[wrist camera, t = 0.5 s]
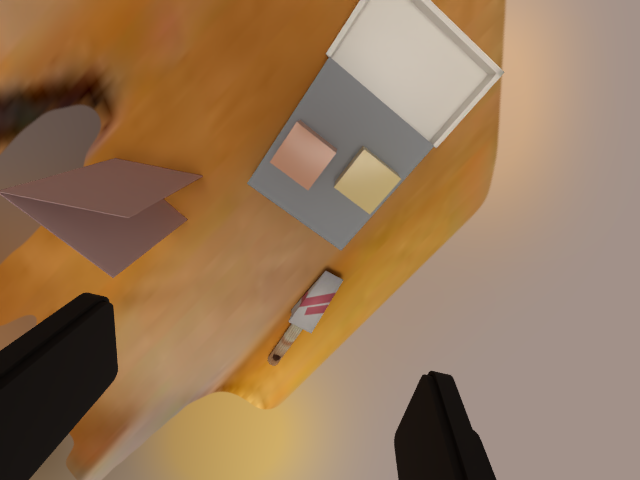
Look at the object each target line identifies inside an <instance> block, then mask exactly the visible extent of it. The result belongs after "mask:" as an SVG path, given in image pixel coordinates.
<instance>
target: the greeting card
mask: <svg viewBox="0 0 640 480" xmlns="http://www.w3.org/2000/svg"><path fill="white" fill-rule="evenodd" d="M201 177H203V176H201V175H196V174H191V173H186V172H181V171H176V170H171V169H166V168H161V167H156V166H151V165H146V164H141V163H136V162H131V161H126V160H121V159H117V158H114V159H111V160H107V161H104V162H100V163H96V164H93V165H89V166H86V167H82V168H79V169H75V170H71V171H68V172H64V173H61V174H57V175H54V176H50V177H46V178H42V179H39V180H35V181H32V182H28V183H25V184H21V185H17V186H14V187H10V188H6V189H3V190H0V195H2V196H3V197H4V198H6V199H7V200H8V201H10V202H11V203H12V204H14V205H15V206H17V207H18V208H19V209H21V210H22V211H23V212H25V213H26V214H27V215H29V216H30V217H31V218H33V219H34V220H36V221H37V222H38V223H40V224H41V225H42V226H44V227H45V228H46V229H48V230H49V231H50V232H52V233H53V234H54V235H56V236H57V237H58V238H60V239H61V240H63V241H64V242H65V243H67V244H68V245H69V246H71V247H72V248H73V249H75V250H76V251H77V252H79V253H80V254H81V255H83V256H84V257H85V258H87V259H88V260H90V261H91V262H92V263H94V264H95V265H96V266H98V267H99V268H100V269H102V270H103V271H104V272H106V273H107V274H108V275H110V276H111V277H113V278H114V277H115V276H116V275H118V274H119V273H120V272H121V271H123V270H124V269H125V268H127V267H128V266H129V265H130V264H132V263H133V262H134V261H135V260H137V259H138V258H139V257H141V256H142V255H143V254H144V253H146V252H147V251H148V250H149V249H151V248H152V247H153V246H155V245H156V244H157V243H158V242H160V241H161V240H162V239H164V238H165V237H166V236H167V235H169V234H170V233H171V232H172V231H174V230H175V229H176V228H178V227H179V226H180V225H181V224H183V223H184V222H185V221H187V219H186V218H185V217H184V216H183V215H182V214H180V213H179V212H178V211H177V210H176V209H174V208H173V207H172V206H171V205H170V204H169V203H167V202H166V201H165V200H164V198H166V197H167V196H169V195H171V194H173V193H174V192H176V191H178V190H180V189H181V188H183V187H185V186H187V185H188V184H190V183H192V182H194V181H196V180H197V179H199V178H201Z"/></svg>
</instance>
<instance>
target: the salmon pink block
mask: <svg viewBox="0 0 640 480" xmlns="http://www.w3.org/2000/svg"><path fill="white" fill-rule="evenodd" d="M336 153H337V149H336V148H335V147H334V146H333V145H331V144H330V143H329V142H327V141H326V140H325V139H324V138H322V137H321V136H320V135H319V134H317V133H316V132H315V131H314V130H312V129H311V128H310V127H308V126H307V125H306V124H305V123H303V122H302V121H301V120H299V121H297V122H296V123H295V125H294V126H293V128H292V129H291V131H290V132H289V134H288V135H287V137H286V138H285V140H284V141H283V143H282V144H281V146H280V147H279V149H278V150H277V152H276V153H275V155H274V157H273V158H272V160H271V161H270V163H271V164H273V165H274V166H275V167H277V168H278V169H280V170H281V171H282V172H284V173H285V174H286V175H288V176H289V177H290V178H292V179H293V180H294V181H296V182H297V183H298V184H300V185H301V186H303V187H304V188H305V189H307V190H309V189H310V187H311V186H312V185H313V183H314V182H315V181H316V179H317V178H318V177H319V175H320V174H321V173H322V171H323V170H324V169H325V168H326V166H327V165H328V164H329V162H330V161H331V160H332V158H333V157H334V156H335V154H336Z"/></svg>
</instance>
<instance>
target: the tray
mask: <svg viewBox="0 0 640 480" xmlns="http://www.w3.org/2000/svg"><path fill="white" fill-rule="evenodd" d="M326 55H327V57H331V58H332V59H333V60H334V61H335V62H336V63H338V64H339V65H340V66H341V67H342V68H343V69H345V70H346V71H347V72H348V73H349V74H350V75H352V76H353V77H354V78H355V79H356V80H357V81H359V82H360V83H361V84H362V85H363V86H365V87H366V88H367V89H368V90H369V91H370V92H372V93H373V94H374V95H375V96H376V97H377V98H379V99H380V100H381V101H382V102H383V103H384V104H386V105H387V106H388V107H389V108H390V109H391V110H393V111H394V112H395V113H396V114H397V115H399V116H400V117H401V118H402V119H403V120H404V121H406V122H407V123H408V124H409V125H410V126H411V127H413V128H414V129H415V130H416V131H417V132H418V133H420V134H421V135H422V136H423V137H424V138H425V139H427V140H428V141H429V142H430V143H431V144H432V145H434V147H435V148H437V147H438V146H439V145H440V144H441V143H442V141H443V140H444V139H445V138H446V137H447V136H448V135H449V134H450V133H451V131H452V130H453V129H454V128H455V127H456V126H457V125H458V124H459V122H460V121H461V120H462V119H463V118H464V117H465V116H466V115H467V114H468V112H469V111H470V110H471V109H472V108H473V107H474V106H475V105H476V103H477V102H478V101H479V100H480V99H481V98H482V97H483V96H484V95H485V93H486V92H487V91H488V90H489V89H490V88H491V87H492V86H493V85H494V83H495V82H496V81H497V80H498V79H499V78H500V77H501V76H502V74H503V73H504V71H503V70H502V69H501V68H500V67H499V66H498V65H497V64H495V63H494V62H493V61H492V60H491V59H490V58H489V57H488V56H487V55H486V54H485V53H484V52H483V51H482V50H481V49H480V48H479V47H478V46H477V45H476V44H475V43H474V42H473V41H472V40H471V39H470V38H469V37H468V36H467V35H466V34H465V33H464V32H463V31H461V30H460V29H459V28H458V27H457V26H456V25H455V24H454V23H453V22H452V21H451V20H450V19H449V18H448V17H447V16H446V15H445V14H444V13H443V12H442V11H441V10H440V9H439V8H438V7H437V6H436V5H435V4H434V3H433V2H432V1H431V0H360V1H359V3H358V4H357V6H356V8H355V9H354V11H353V12H352V14H351V15H350V17H349V18H348V20H347V22H346V23H345V25H344V26H343V28H342V29H341V31H340V32H339V34H338V36H337V37H336V39H335V40H334V42H333V43H332V45H331V46H330V48H329V50H328V51H327V53H326Z"/></svg>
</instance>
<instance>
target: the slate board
mask: <svg viewBox="0 0 640 480" xmlns="http://www.w3.org/2000/svg"><path fill="white" fill-rule="evenodd" d="M299 120H301V121H302V122H303V123H305V124H306V125H307V126H308V127H310V128H311V129H312V130H314V131H315V132H316V133H317V134H319V135H320V136H321V137H322V138H324V139H325V140H326V141H327V142H329V143H330V144H331V145H333V146H334V147H335V148H336V149H337V153H336V154H335V156H334V157H333V158H332V160H331V161H330V162H329V164H328V165H327V166H326V168H325V169H324V170H323V171H322V173H321V174H320V175H319V177H318V178H317V179H316V181H315V182H314V183H313V185H312V186H311V187H310V189H309V190H307V189H305V188H304V187H303V186H301V185H300V184H298V183H297V182H296V181H294V180H293V179H292V178H290V177H289V176H288V175H286V174H285V173H284V172H282V171H281V170H280V169H278V168H277V167H275V166H274V165H273V164H271V163H270V161H271V160H272V158H273V157H274V155H275V153H276V152H277V150H278V149H279V147H280V146H281V144H282V143H283V141H284V140H285V138H286V137H287V135H288V134H289V132H290V131H291V129H292V128H293V126H294V125H295V123H296V122H297V121H299ZM362 146H364V147H366V148H367V149H368V150H369V151H371V152H372V153H373V154H374V155H376V156H377V157H378V158H379V159H380V160H382V161H383V162H384V163H385V164H387V165H388V166H389V167H390V168H392V169H393V170H394V171H395V172H397V173H398V174H399V176H400V178H401V180H400V181H399V182H398V184H397V185H396V186H395V187H394V188H393V189H392V190H391V191H390V193H389V194H388V195H387V196H386V197H385V198H384V199H383V201H382V202H381V203H380V204H379V205H378V206H377V207H376V208H375V210H374V211H373V212H372V213H371V214H368V213H367V212H366V211H364V210H363V209H362V208H361V207H359V206H358V205H357V204H355V203H354V202H353V201H351V200H350V199H349V198H347V197H346V196H345V195H343V194H342V193H341V192H339V191H338V190H337V189H335V188H334V184H335V181H336V180H337V178H338V177H339V176H340V174H341V173H342V172H343V171H344V169H345V168H346V167H347V166H348V164H349V163H350V162H351V160H352V159H353V158H354V157H355V155H356V154H357V153H358V151H359V150H360V149H361V148H362ZM433 147H434V145H432V144H431V143H430V142H429V141H428V140H427V139H425V138H424V137H423V136H422V135H421V134H420V133H418V132H417V131H416V130H415V129H414V128H413V127H411V126H410V125H409V124H408V123H407V122H406V121H404V120H403V119H402V118H401V117H400V116H399V115H397V114H396V113H395V112H394V111H393V110H391V109H390V108H389V107H388V106H387V105H386V104H384V103H383V102H382V101H381V100H380V99H379V98H377V97H376V96H375V95H374V94H373V93H372V92H370V91H369V90H368V89H367V88H366V87H365V86H363V85H362V84H361V83H360V82H359V81H357V80H356V79H355V78H354V77H353V76H352V75H350V74H349V73H348V72H347V71H346V70H345V69H343V68H342V67H341V66H340V65H339V64H338V63H336V62H335V61H334V60H333V59H332V58H331V57H329V58H328V60H327V61H326V63H325V64H324V66H323V67H322V69H321V71H320V72H319V74H318V75H317V77H316V78H315V80H314V81H313V83H312V84H311V86H310V87H309V89H308V91H307V92H306V94H305V95H304V97H303V98H302V100H301V101H300V103H299V104H298V106H297V107H296V109H295V111H294V112H293V114H292V115H291V117H290V118H289V120H288V121H287V123H286V124H285V126H284V127H283V129H282V131H281V132H280V134H279V135H278V137H277V138H276V140H275V141H274V143H273V144H272V146H271V147H270V149H269V151H268V152H267V154H266V155H265V157H264V158H263V160H262V161H261V163H260V164H259V166H258V167H257V169H256V171H255V172H254V174H253V175H252V177H251V178H250V180H249V181H248V183H247V184H248V185H250V186H251V187H252V188H254V189H255V190H257V191H258V192H260V193H261V194H262V195H264V196H265V197H267V198H268V199H269V200H271V201H272V202H274V203H275V204H276V205H278V206H279V207H281V208H282V209H283V210H285V211H286V212H288V213H289V214H290V215H292V216H293V217H295V218H296V219H297V220H299V221H300V222H302V223H303V224H304V225H306V226H307V227H309V228H310V229H311V230H313V231H314V232H316V233H317V234H318V235H320V236H321V237H323V238H324V239H325V240H327V241H328V242H330V243H331V244H333V245H334V246H335V247H337V248H338V249H340V250H342V249H343V248H344V247H345V246H346V245H347V243H348V242H349V241H350V240H351V239H352V238H353V237H354V236H355V234H356V233H357V232H358V231H359V230H360V229H361V228H362V227H363V225H364V224H365V223H366V222H367V221H368V220H369V219H370V218H371V216H372V215H373V214H374V213H375V212H376V211H377V210H378V209H379V207H380V206H381V205H382V204H383V203H384V202H385V201H386V200H387V198H388V197H389V196H390V195H391V194H392V193H393V192H394V191H395V189H396V188H397V187H398V186H399V185H400V184H401V183H402V182H403V180H404V179H405V178H406V177H407V176H408V175H409V174H410V173H411V171H412V170H413V169H414V168H415V167H416V166H417V165H418V164H419V163H420V161H421V160H422V159H423V158H424V157H425V156H426V155H427V154H428V152H429V151H430V150H431V149H432V148H433Z"/></svg>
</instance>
